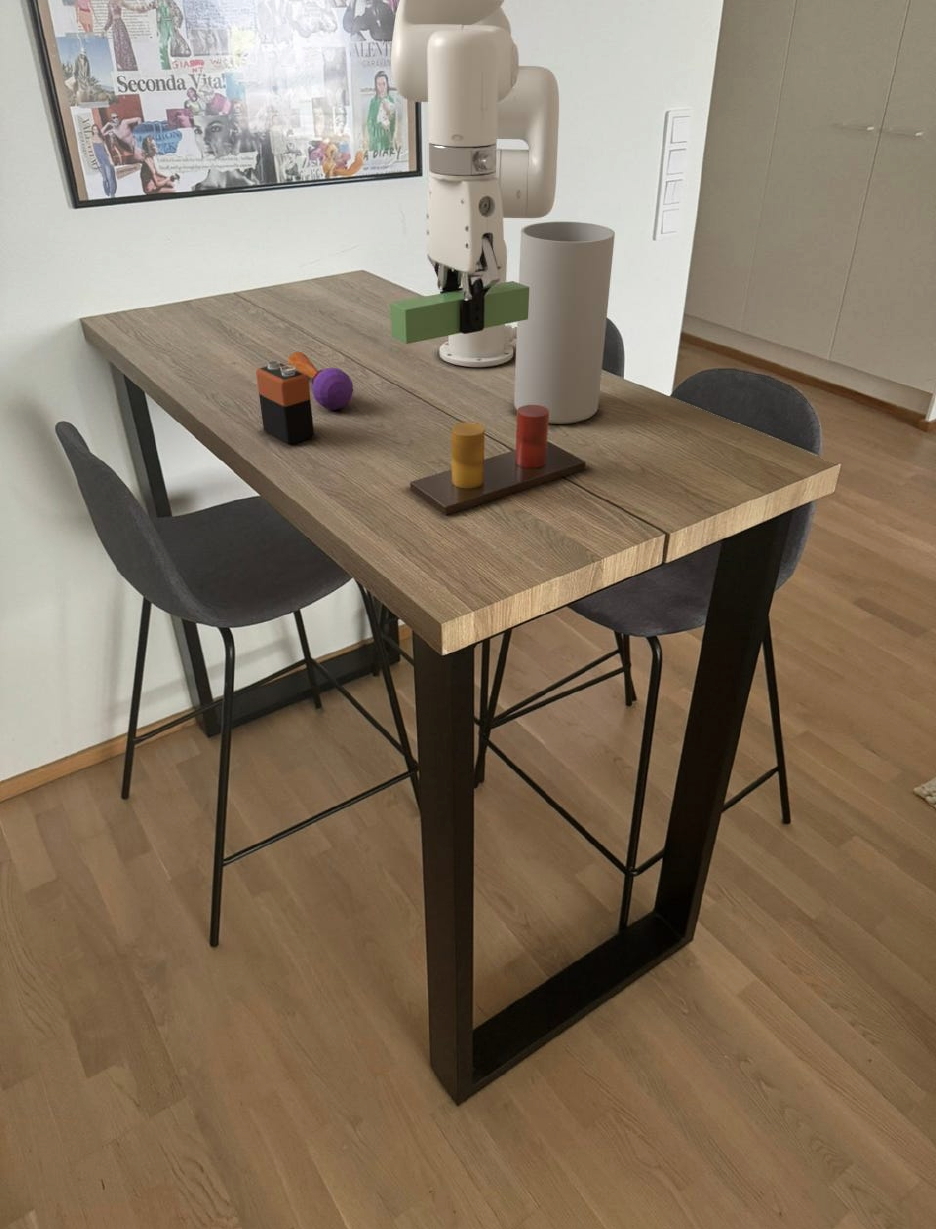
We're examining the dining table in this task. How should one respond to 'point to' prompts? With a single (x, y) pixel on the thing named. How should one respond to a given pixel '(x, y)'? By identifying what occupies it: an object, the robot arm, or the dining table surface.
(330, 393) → the kendama
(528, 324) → the cylinder vase
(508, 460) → the rod stand
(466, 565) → the dining table surface
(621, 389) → the dining table surface
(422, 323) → the green bar
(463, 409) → the dining table surface
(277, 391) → the battery
